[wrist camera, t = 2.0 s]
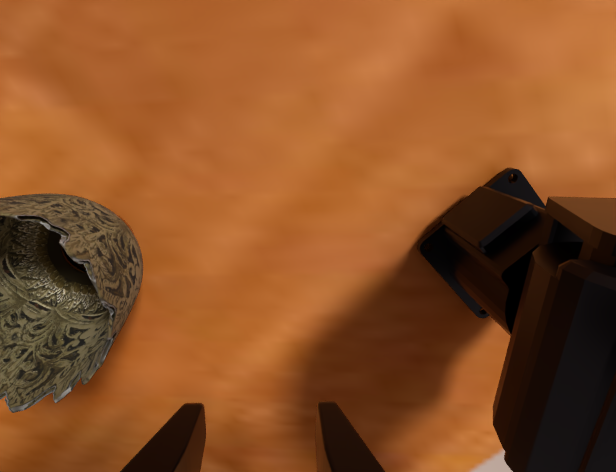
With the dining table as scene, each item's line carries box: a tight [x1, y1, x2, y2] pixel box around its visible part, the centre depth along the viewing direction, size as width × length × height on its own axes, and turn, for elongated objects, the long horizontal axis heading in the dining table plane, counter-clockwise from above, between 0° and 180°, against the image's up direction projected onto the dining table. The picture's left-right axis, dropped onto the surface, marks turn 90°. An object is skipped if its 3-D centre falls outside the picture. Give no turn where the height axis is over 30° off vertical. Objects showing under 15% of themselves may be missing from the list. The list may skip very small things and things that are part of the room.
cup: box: [0, 194, 143, 413], centre depth 15 cm, size 7×7×8 cm
